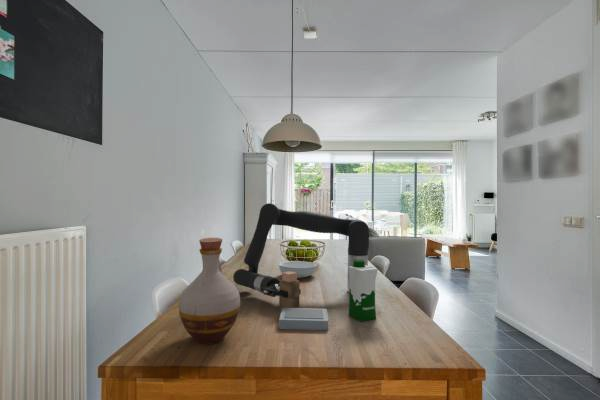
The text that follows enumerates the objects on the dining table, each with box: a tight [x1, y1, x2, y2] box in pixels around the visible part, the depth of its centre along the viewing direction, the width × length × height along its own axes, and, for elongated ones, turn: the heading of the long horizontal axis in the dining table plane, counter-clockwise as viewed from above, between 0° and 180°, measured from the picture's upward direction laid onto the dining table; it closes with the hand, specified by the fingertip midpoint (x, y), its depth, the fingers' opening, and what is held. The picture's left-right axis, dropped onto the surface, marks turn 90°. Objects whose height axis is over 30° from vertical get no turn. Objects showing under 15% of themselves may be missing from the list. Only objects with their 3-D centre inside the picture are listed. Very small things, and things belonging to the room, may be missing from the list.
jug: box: [178, 237, 241, 345], centre depth 99 cm, size 20×18×30 cm
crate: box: [278, 279, 301, 311], centre depth 127 cm, size 6×6×11 cm
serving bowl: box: [278, 260, 318, 279], centre depth 183 cm, size 21×21×7 cm
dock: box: [278, 307, 329, 331], centre depth 112 cm, size 16×12×3 cm
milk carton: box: [347, 260, 378, 322], centre depth 119 cm, size 9×9×20 cm
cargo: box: [281, 271, 298, 282], centre depth 127 cm, size 4×4×3 cm
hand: (293, 293), depth 125 cm, fingers open, 5 cm apart
